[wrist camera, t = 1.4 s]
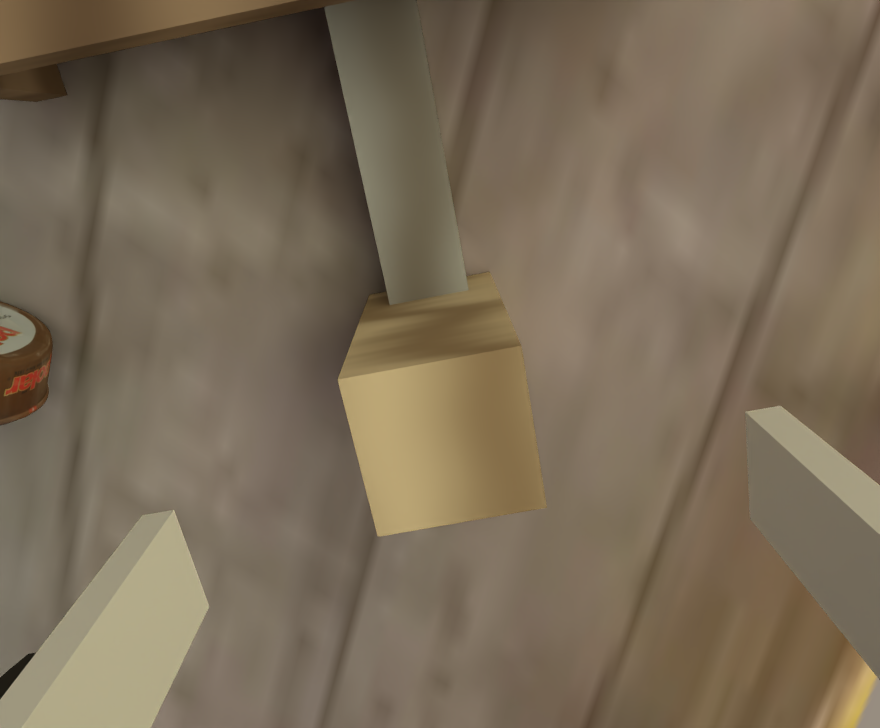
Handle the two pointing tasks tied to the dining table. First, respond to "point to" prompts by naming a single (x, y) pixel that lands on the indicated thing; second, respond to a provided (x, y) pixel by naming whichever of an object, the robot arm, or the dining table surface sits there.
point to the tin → (22, 363)
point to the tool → (424, 306)
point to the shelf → (108, 32)
